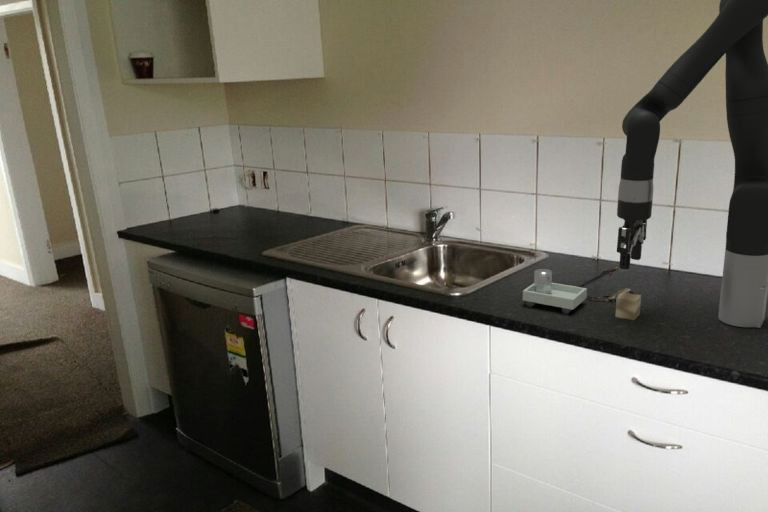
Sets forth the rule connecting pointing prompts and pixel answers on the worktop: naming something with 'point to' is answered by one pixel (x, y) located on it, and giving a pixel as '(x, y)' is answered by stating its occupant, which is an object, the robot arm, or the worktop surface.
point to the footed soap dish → (556, 297)
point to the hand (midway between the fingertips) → (630, 263)
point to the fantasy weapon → (607, 298)
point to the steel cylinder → (543, 281)
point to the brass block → (628, 306)
